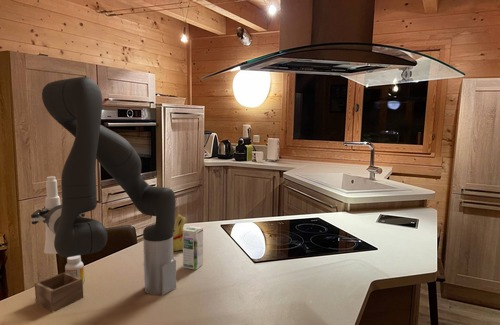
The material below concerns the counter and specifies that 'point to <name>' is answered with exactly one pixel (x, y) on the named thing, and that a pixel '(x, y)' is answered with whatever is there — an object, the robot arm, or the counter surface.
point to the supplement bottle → (75, 267)
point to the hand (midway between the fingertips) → (52, 208)
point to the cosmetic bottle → (51, 202)
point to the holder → (59, 291)
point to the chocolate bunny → (178, 233)
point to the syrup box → (192, 247)
